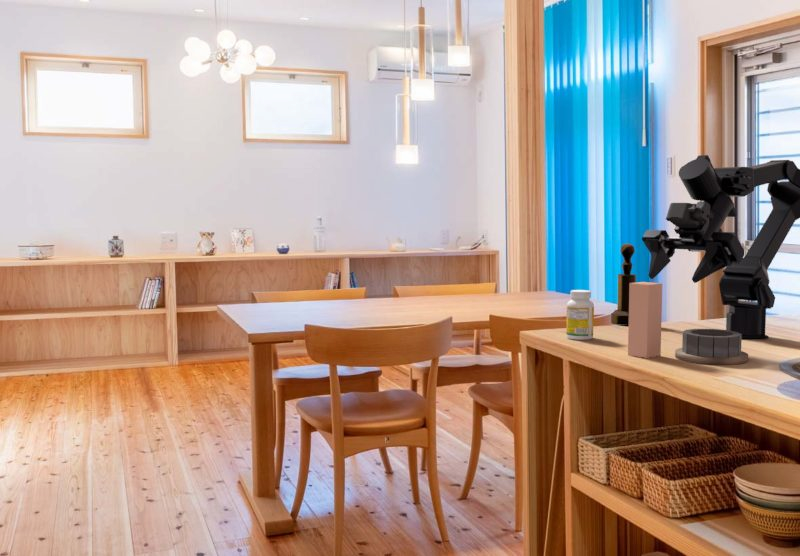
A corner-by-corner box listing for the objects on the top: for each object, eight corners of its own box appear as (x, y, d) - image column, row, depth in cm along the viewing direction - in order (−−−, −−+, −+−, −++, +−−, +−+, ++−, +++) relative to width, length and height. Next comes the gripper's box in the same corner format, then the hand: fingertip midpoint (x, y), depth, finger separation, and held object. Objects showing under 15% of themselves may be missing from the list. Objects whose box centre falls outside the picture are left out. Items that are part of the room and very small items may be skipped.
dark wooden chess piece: (621, 320, 192) (622, 242, 191) (646, 323, 188) (648, 243, 186) (605, 323, 188) (607, 243, 186) (631, 326, 183) (633, 244, 181)
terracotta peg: (641, 352, 152) (643, 281, 151) (660, 355, 149) (662, 283, 147) (627, 355, 149) (629, 283, 148) (646, 358, 146) (648, 284, 145)
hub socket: (733, 352, 152) (734, 327, 152) (759, 365, 140) (760, 338, 140) (666, 351, 152) (667, 327, 152) (687, 364, 140) (688, 338, 140)
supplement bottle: (580, 341, 164) (581, 292, 164) (560, 337, 169) (561, 290, 168) (599, 338, 168) (599, 291, 167) (578, 335, 172) (579, 288, 171)
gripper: (648, 188, 161) (610, 247, 156) (737, 186, 147) (699, 251, 141) (672, 228, 167) (636, 286, 161) (760, 230, 152) (724, 294, 146)
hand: (671, 279), depth 152 cm, fingers open, 9 cm apart
